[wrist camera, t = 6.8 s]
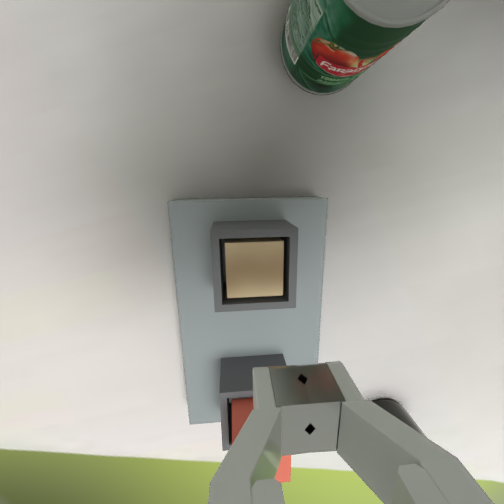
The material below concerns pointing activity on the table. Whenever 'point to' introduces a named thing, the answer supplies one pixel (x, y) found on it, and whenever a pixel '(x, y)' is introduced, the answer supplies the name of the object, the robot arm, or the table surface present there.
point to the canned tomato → (345, 37)
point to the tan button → (254, 267)
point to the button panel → (245, 308)
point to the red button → (239, 417)
